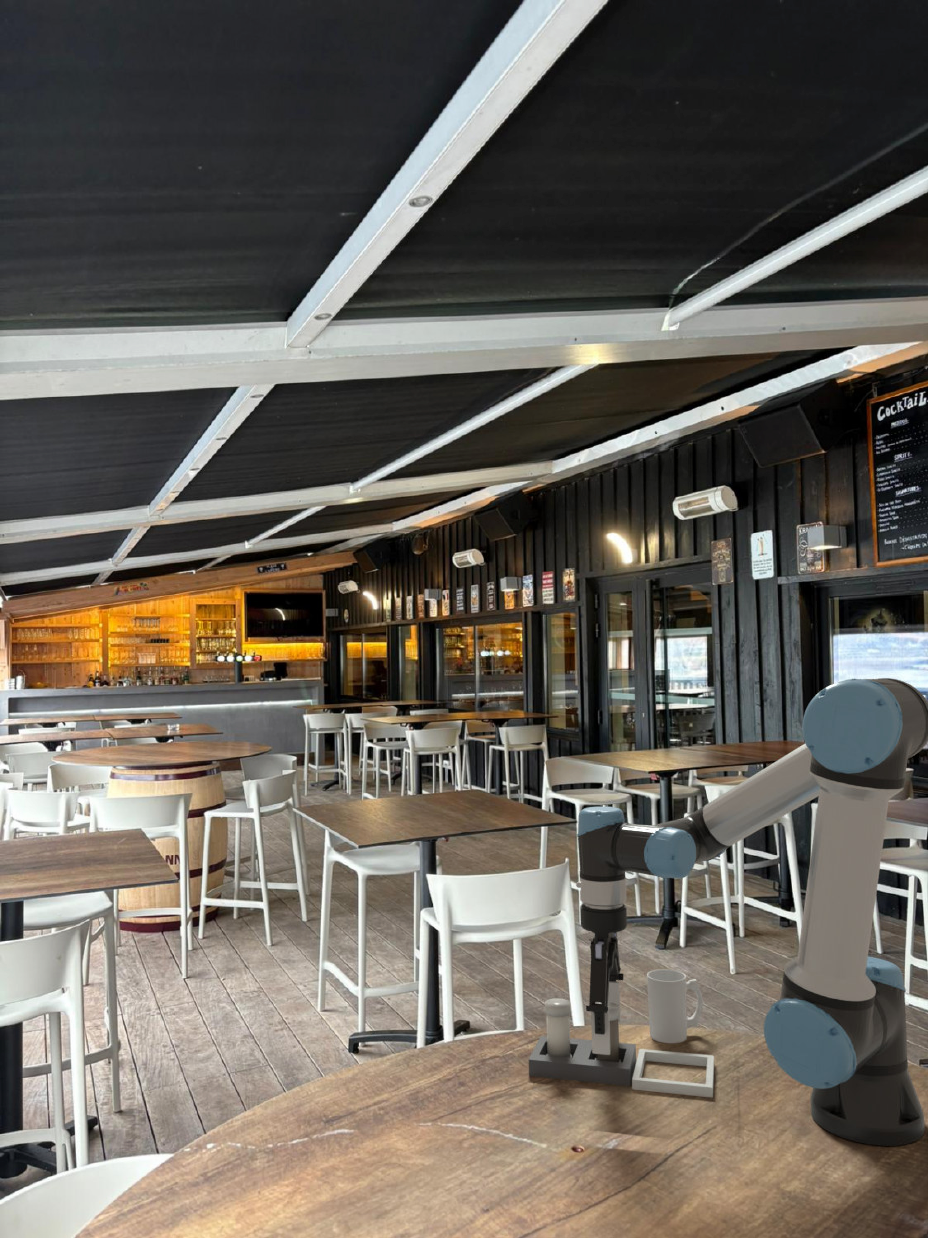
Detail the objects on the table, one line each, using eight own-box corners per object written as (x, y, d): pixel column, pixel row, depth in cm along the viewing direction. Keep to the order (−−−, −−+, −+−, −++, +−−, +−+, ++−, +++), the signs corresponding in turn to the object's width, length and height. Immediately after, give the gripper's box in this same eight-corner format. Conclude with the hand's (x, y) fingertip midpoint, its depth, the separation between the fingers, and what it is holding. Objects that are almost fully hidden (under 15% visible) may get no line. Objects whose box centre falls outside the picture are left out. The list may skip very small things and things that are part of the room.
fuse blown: (622, 1065, 150) (620, 1003, 151) (619, 1076, 146) (617, 1012, 147) (596, 1063, 152) (595, 1001, 152) (593, 1074, 148) (591, 1010, 148)
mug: (657, 1054, 158) (654, 983, 159) (643, 1039, 165) (641, 970, 166) (712, 1049, 160) (709, 978, 161) (696, 1034, 166) (694, 966, 167)
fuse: (574, 1061, 153) (572, 999, 153) (569, 1071, 149) (568, 1008, 149) (549, 1058, 154) (547, 997, 154) (544, 1069, 150) (542, 1006, 150)
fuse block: (636, 1069, 153) (635, 1044, 153) (630, 1096, 143) (629, 1069, 143) (541, 1059, 157) (540, 1035, 157) (529, 1085, 147) (528, 1059, 148)
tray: (714, 1074, 150) (713, 1055, 150) (713, 1107, 139) (712, 1087, 139) (640, 1066, 153) (639, 1049, 154) (632, 1099, 142) (632, 1079, 142)
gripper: (591, 885, 164) (594, 1007, 162) (567, 922, 140) (571, 1066, 138) (633, 887, 161) (637, 1011, 160) (617, 925, 138) (621, 1071, 136)
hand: (607, 1036), depth 149 cm, fingers open, 13 cm apart
